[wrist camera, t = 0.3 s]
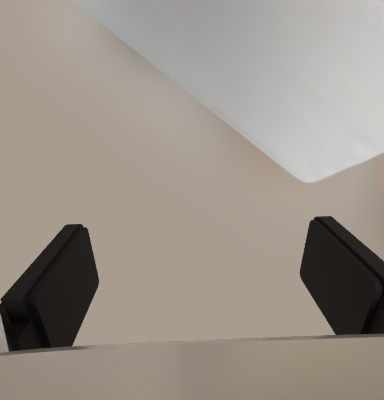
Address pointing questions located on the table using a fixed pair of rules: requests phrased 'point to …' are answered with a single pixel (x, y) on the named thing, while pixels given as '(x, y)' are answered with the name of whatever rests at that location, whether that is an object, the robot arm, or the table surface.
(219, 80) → the table surface
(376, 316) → the robot arm
